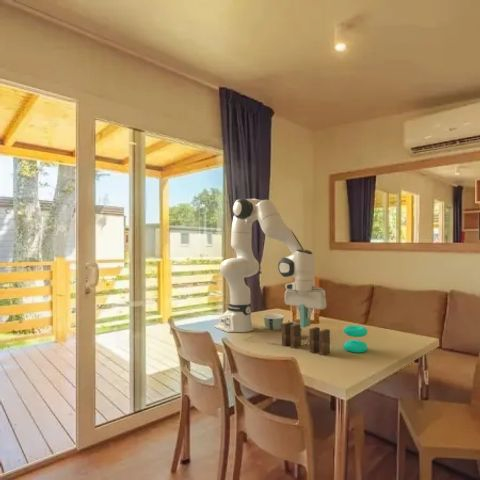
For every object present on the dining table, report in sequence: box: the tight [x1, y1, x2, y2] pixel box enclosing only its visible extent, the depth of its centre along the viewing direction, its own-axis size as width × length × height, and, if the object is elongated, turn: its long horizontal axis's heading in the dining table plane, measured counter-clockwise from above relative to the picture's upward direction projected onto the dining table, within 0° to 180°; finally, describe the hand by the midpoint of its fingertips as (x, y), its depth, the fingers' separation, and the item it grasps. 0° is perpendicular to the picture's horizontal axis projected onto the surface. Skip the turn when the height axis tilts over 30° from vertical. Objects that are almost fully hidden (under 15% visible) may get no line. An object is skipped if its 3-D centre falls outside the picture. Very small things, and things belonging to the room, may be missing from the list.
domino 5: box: [319, 328, 331, 356], centre depth 157 cm, size 2×5×10 cm, turn 136°
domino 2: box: [290, 323, 302, 349], centre depth 168 cm, size 2×5×10 cm, turn 136°
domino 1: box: [281, 321, 292, 347], centre depth 171 cm, size 2×5×10 cm, turn 136°
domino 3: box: [299, 304, 311, 328], centre depth 164 cm, size 2×5×10 cm, turn 136°
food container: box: [262, 313, 285, 331], centre depth 204 cm, size 12×12×6 cm
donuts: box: [343, 324, 369, 354], centre depth 162 cm, size 10×10×10 cm
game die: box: [287, 319, 303, 332], centre depth 185 cm, size 9×8×10 cm
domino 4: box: [308, 326, 321, 354], centre depth 161 cm, size 2×5×10 cm, turn 136°
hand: (305, 317), depth 164 cm, fingers closed on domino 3, 2 cm apart
